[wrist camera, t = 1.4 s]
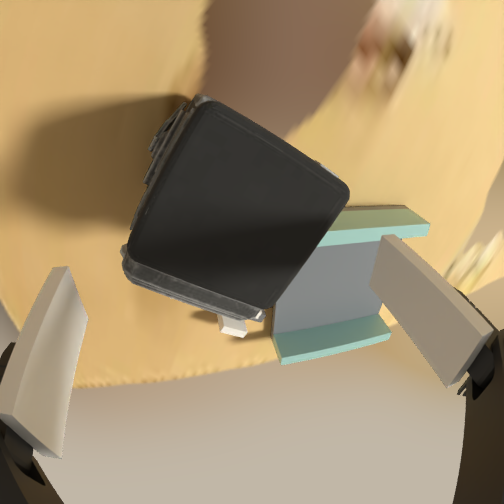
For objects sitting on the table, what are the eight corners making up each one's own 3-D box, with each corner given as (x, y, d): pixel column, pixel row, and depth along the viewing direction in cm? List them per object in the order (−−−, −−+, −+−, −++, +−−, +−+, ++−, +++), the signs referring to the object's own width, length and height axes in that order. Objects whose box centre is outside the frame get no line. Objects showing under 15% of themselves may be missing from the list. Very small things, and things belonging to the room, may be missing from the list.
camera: (129, 190, 25) (84, 296, 13) (185, 86, 21) (182, 79, 9) (225, 234, 30) (260, 352, 17) (285, 143, 26) (377, 206, 13)
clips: (151, 265, 30) (149, 283, 27) (184, 234, 29) (185, 250, 26) (232, 325, 36) (236, 342, 34) (263, 301, 35) (270, 318, 33)
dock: (279, 210, 29) (296, 233, 25) (404, 205, 32) (430, 223, 28) (270, 336, 39) (280, 365, 35) (372, 316, 42) (388, 339, 37)
